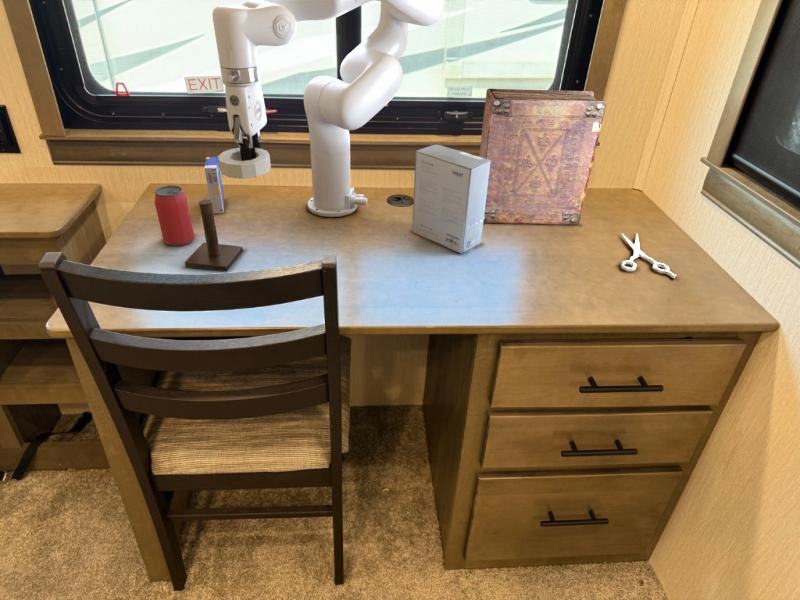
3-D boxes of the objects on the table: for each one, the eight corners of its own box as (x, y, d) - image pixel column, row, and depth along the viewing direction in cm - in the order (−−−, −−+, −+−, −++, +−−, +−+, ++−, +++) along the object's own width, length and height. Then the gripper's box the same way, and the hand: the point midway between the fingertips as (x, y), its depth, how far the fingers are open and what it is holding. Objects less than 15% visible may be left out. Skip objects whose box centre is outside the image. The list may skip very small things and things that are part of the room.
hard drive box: (482, 243, 129) (492, 160, 117) (461, 255, 124) (471, 169, 113) (431, 222, 137) (436, 142, 126) (410, 231, 133) (414, 150, 121)
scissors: (625, 271, 119) (606, 228, 135) (624, 274, 119) (605, 231, 135) (676, 275, 118) (651, 232, 134) (675, 278, 118) (650, 235, 135)
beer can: (185, 248, 122) (174, 198, 115) (157, 245, 123) (145, 194, 116) (200, 235, 127) (190, 186, 121) (173, 232, 128) (163, 182, 122)
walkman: (213, 201, 143) (205, 155, 137) (224, 200, 144) (217, 155, 137) (211, 214, 137) (203, 167, 130) (223, 213, 138) (216, 166, 131)
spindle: (243, 251, 122) (235, 195, 115) (226, 271, 115) (217, 213, 107) (204, 247, 123) (193, 191, 116) (185, 267, 116) (173, 209, 108)
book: (568, 209, 146) (594, 91, 129) (578, 225, 138) (608, 101, 122) (472, 207, 145) (486, 88, 128) (477, 223, 138) (493, 98, 121)
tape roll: (276, 162, 123) (275, 149, 121) (260, 180, 115) (258, 166, 113) (232, 159, 124) (230, 145, 123) (212, 176, 116) (210, 162, 114)
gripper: (243, 85, 105) (255, 177, 116) (271, 67, 118) (280, 151, 129) (205, 83, 106) (221, 174, 116) (238, 65, 119) (249, 149, 130)
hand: (252, 161), depth 122 cm, fingers closed on tape roll, 2 cm apart
